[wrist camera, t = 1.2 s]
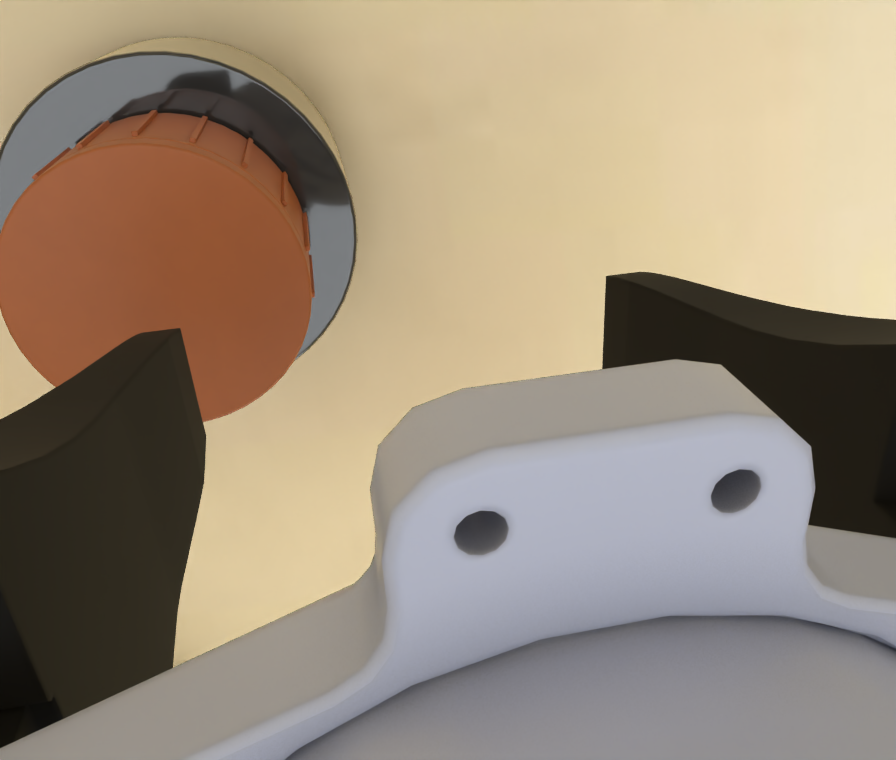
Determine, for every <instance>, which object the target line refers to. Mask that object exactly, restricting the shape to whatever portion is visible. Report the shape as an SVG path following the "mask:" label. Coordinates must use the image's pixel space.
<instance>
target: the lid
mask: <svg viewBox="0 0 896 760" xmlns="http://www.w3.org/2000/svg"><path fill="white" fill-rule="evenodd" d="M32 179H34V180H35V181H34V182H32V183H31V184H30V185H29V186H28V187H27V188H26V189H25V191H24V192H23V193H22V194H21V196H20V197H19V198H18V200H17V201H16V202H15V203H14V205H13V207H12V209H11V210H10V212H9V214H8V216H7V218H6V220H5V222H4V224H3V227H2V230H1V233H0V309H1V313H2V316H3V318H4V320H5V323H6V325H7V327H8V330H9V332H10V334H11V336H12V337H13V339H14V341H15V342H16V344H17V346H18V347H19V349H20V350H21V352H22V353H23V354H24V356H25V357H26V358H27V359H28V361H29V362H30V363H31V364H32V366H33V367H34V368H35V369H36V370H37V371H38V372H39V373H40V374H41V375H42V376H43V377H44V378H45V379H46V380H47V381H49V382H50V383H51V384H53V385H54V386H55V387H57V386H59V385H61V384H62V383H64V382H65V381H67V380H69V379H70V378H72V377H73V376H75V375H76V374H78V373H79V372H81V371H82V370H84V369H85V368H86V367H88V366H89V365H91V364H92V363H94V362H95V361H97V360H98V359H99V358H101V357H102V356H104V355H105V354H107V353H108V352H109V351H111V350H112V349H114V348H115V347H117V346H118V345H120V344H121V343H123V342H124V341H126V340H128V339H129V338H131V337H133V336H135V335H137V334H139V333H143V332H151V331H159V330H167V329H175V328H180V329H181V333H182V337H183V341H184V346H185V350H186V354H187V358H188V362H189V366H190V371H191V375H192V379H193V383H194V387H195V392H196V396H197V400H198V404H199V408H200V413H201V417H202V421H203V422H205V421H210V420H213V419H216V418H219V417H222V416H225V415H228V414H230V413H232V412H235V411H237V410H239V409H241V408H243V407H245V406H247V405H248V404H250V403H251V402H253V401H255V400H256V399H258V398H259V397H261V396H262V395H263V394H264V393H266V392H267V391H268V390H269V389H271V388H272V387H273V386H274V385H275V384H276V383H277V382H278V381H279V380H280V378H281V377H282V376H283V375H284V374H285V373H286V371H287V370H288V369H289V367H290V366H291V364H292V363H293V362H294V360H295V358H296V356H297V354H298V352H299V350H300V348H301V347H302V344H303V341H304V338H305V336H306V333H307V330H308V325H309V320H310V315H311V303H312V298H314V297H315V290H314V278H313V267H312V255H309V251H310V242H309V230H308V218H307V213H306V212H305V213H303V212H302V209H301V206H300V203H299V201H298V198H297V196H296V194H295V192H294V190H293V189H292V187H291V185H290V183H289V182H288V175H287V173H286V172H285V171H284V172H283V173H282V171H281V170H280V169H279V168H278V167H277V165H276V164H275V163H274V162H273V161H272V160H271V159H270V158H269V156H267V155H266V154H265V153H264V152H263V151H262V150H261V149H259V148H258V147H257V146H256V145H255V144H253V139H251V138H250V137H249V138H248V139H246V138H245V137H243V136H242V135H240V134H238V133H237V132H235V131H233V130H231V129H229V128H227V127H225V126H223V125H220V124H218V123H215V122H212V121H209V120H208V117H206V116H202V118H199V117H195V116H190V115H185V114H175V113H158V112H157V110H151V112H150V113H149V114H143V115H137V116H131V117H128V118H125V119H121V120H118V121H115V122H113V123H111V124H110V123H109V121H108V120H107V121H105V122H103V123H102V124H101V125H100V126H98V127H97V128H96V129H95V130H94V131H92V132H91V133H90V134H89V135H87V136H86V137H85V138H84V139H83V140H81V141H80V142H79V143H78V144H77V145H75V147H74V148H73V149H70V148H69V147H68V148H67V149H66V150H64V151H63V152H62V153H61V154H59V155H58V156H57V157H56V158H54V159H53V160H52V161H51V162H49V163H48V164H47V165H46V166H44V167H43V168H42V169H41V170H39V171H38V172H37V173H36V174H35V175H34V176H33V177H32Z"/></svg>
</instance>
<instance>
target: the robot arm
mask: <svg viewBox="0 0 896 760" xmlns="http://www.w3.org/2000/svg"><path fill="white" fill-rule="evenodd" d="M205 451H206V434H205V429H204V425H203V421H202V417H201V413H200V408H199V404H198V400H197V396H196V392H195V387H194V383H193V379H192V375H191V371H190V366H189V362H188V358H187V354H186V350H185V346H184V341H183V337H182V333H181V329H180V328H175V329H167V330H159V331H151V332H143V333H139V334H137V335H135V336H133V337H131V338H129V339H128V340H126V341H124V342H123V343H121V344H120V345H118V346H117V347H115V348H114V349H112V350H111V351H109V352H108V353H107V354H105V355H104V356H102V357H101V358H99V359H98V360H97V361H95V362H94V363H92V364H91V365H89V366H88V367H86V368H85V369H84V370H82V371H81V372H79V373H78V374H76V375H75V376H73V377H72V378H70V379H69V380H67V381H65V382H64V383H62V384H61V385H59V386H57V387H56V388H54V389H53V390H51V391H49V392H48V393H46V394H45V395H43V396H42V397H40V398H38V399H37V400H35V401H34V402H32V403H30V404H28V405H27V406H25V407H23V408H21V409H19V410H18V411H16V412H14V413H12V414H10V415H8V416H6V417H4V418H2V419H0V760H896V320H890V319H876V318H865V317H855V316H846V315H839V314H833V313H826V312H819V311H812V310H806V309H800V308H795V307H790V306H785V305H781V304H776V303H772V302H767V301H763V300H758V299H754V298H750V297H746V296H742V295H738V294H734V293H731V292H727V291H723V290H720V289H716V288H712V287H709V286H705V285H701V284H698V283H694V282H690V281H686V280H683V279H679V278H675V277H671V276H666V275H662V274H656V273H649V272H635V273H627V274H619V275H611V276H606V293H605V317H604V342H603V367H602V369H601V370H594V371H587V372H579V373H572V374H565V375H558V376H550V377H543V378H536V379H529V380H521V381H514V382H507V383H500V384H493V385H485V386H478V387H471V388H464V389H460V390H457V391H455V392H452V393H450V394H447V395H444V396H442V397H439V398H437V399H434V400H431V401H429V402H426V403H424V404H421V405H418V406H416V407H413V408H412V409H411V410H410V411H409V412H408V413H407V414H406V415H405V416H404V417H403V419H402V420H401V421H400V422H399V423H398V424H397V425H396V426H395V427H394V428H393V430H392V431H391V432H390V433H389V434H388V435H387V436H386V437H385V438H384V439H383V441H382V442H381V443H380V444H379V445H378V449H377V455H376V460H375V465H374V470H373V476H372V481H371V486H370V493H371V501H372V509H373V516H374V524H375V532H376V537H375V554H374V557H373V560H372V563H371V565H370V567H369V569H368V570H367V571H366V572H365V573H364V574H363V575H362V577H361V578H360V579H359V580H358V581H357V582H355V583H354V584H352V585H350V586H348V587H345V588H343V589H341V590H339V591H337V592H335V593H332V594H330V595H328V596H326V597H324V598H322V599H320V600H317V601H315V602H313V603H311V604H309V605H307V606H305V607H302V608H300V609H298V610H296V611H294V612H292V613H290V614H287V615H285V616H283V617H281V618H279V619H277V620H275V621H272V622H270V623H268V624H266V625H264V626H262V627H260V628H257V629H255V630H253V631H251V632H249V633H247V634H244V635H242V636H240V637H238V638H236V639H234V640H232V641H229V642H227V643H225V644H223V645H221V646H219V647H217V648H214V649H212V650H210V651H208V652H206V653H204V654H202V655H199V656H197V657H195V658H193V659H191V660H189V661H187V662H184V663H182V664H180V665H178V666H176V667H174V668H173V657H174V645H175V634H176V622H177V611H178V605H179V599H180V592H181V586H182V582H183V577H184V573H185V568H186V564H187V559H188V555H189V550H190V545H191V541H192V536H193V532H194V527H195V523H196V518H197V513H198V509H199V504H200V499H201V494H202V489H203V484H204V471H205Z"/></svg>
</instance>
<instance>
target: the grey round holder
mask: <svg viewBox="0 0 896 760" xmlns="http://www.w3.org/2000/svg"><path fill="white" fill-rule="evenodd" d="M151 110H157V112H158V113H175V114H185V115H190V116H195V117H199V118H202V116H206V117H208V120H209V121H212V122H215V123H218V124H220V125H223V126H225V127H227V128H229V129H231V130H233V131H235V132H237V133H238V134H240V135H242V136H243V137H245V138H246V139H248V138H249V137H250V138H251V139H253V144H255V145H256V146H257V147H258V148H259V149H261V150H262V151H263V152H264V153H265V154H266V155H267V156H269V158H270V159H271V160H272V161H273V162H274V163H275V164H276V165H277V167H278V168H279V169H280V170H281V171H282V173H283V172H284V171H285V172H286V173H287V175H288V182H289V183H290V185H291V187H292V189H293V190H294V192H295V194H296V196H297V198H298V201H299V203H300V206H301V209H302V212H303V213H305V212H306V213H307V218H308V230H309V242H310V251H309V255H312V267H313V278H314V290H315V297H314V298H312V303H311V315H310V320H309V325H308V330H307V333H306V336H305V338H304V341H303V344H302V347H301V348H300V350H299V352H298V354H297V356H296V358H295V360H296V359H297V358H299V357H300V356H301V355H302V354H303V353H305V352H306V351H307V350H308V349H310V348H311V346H312V345H313V344H314V343H315V342H316V341H317V340H318V339H319V338H320V337H321V336H322V335H323V334H324V332H325V331H326V330H327V328H328V327H329V325H330V324H331V323H332V321H333V320H334V318H335V317H336V315H337V313H338V311H339V309H340V307H341V306H342V304H343V302H344V300H345V297H346V294H347V292H348V289H349V286H350V283H351V280H352V276H353V271H354V267H355V262H356V251H357V225H356V215H355V210H354V205H353V200H352V195H351V192H350V188H349V185H348V181H347V178H346V174H345V171H344V167H343V164H342V161H341V158H340V155H339V152H338V149H337V146H336V143H335V141H334V139H333V137H332V135H331V132H330V130H329V128H328V126H327V124H326V123H325V121H324V120H323V118H322V117H321V115H320V114H319V112H318V110H317V109H316V108H315V106H314V105H313V104H312V103H311V101H310V100H309V99H308V98H307V97H306V95H305V94H304V93H303V92H302V91H301V90H300V89H299V88H298V87H297V86H296V85H295V84H294V83H292V82H291V81H290V80H289V79H288V78H287V77H286V76H284V75H283V74H282V73H280V72H279V71H278V70H276V69H275V68H274V67H272V66H271V65H269V64H268V63H266V62H264V61H262V60H260V59H259V58H257V57H255V56H253V55H251V54H250V53H247V52H245V51H242V50H240V49H237V48H235V47H232V46H230V45H226V44H222V43H218V42H214V41H210V40H205V39H197V38H188V37H164V38H158V39H151V40H145V41H141V42H137V43H134V44H131V45H128V46H124V47H121V48H119V49H117V50H115V51H113V52H111V53H108V54H106V55H104V56H102V57H100V58H98V59H95V60H93V61H91V62H89V63H87V64H85V65H83V66H80V67H78V68H76V69H74V70H72V71H70V72H68V73H66V74H64V75H63V76H61V77H60V78H58V79H57V80H56V81H54V82H53V83H51V84H50V85H48V86H47V87H45V88H44V89H43V90H42V91H41V92H40V93H39V94H38V95H37V96H36V97H35V98H34V99H33V100H31V101H30V102H29V103H28V104H27V105H26V107H25V108H24V109H23V111H22V112H21V113H20V115H19V116H18V117H17V119H16V120H15V121H14V123H13V124H12V126H11V128H10V130H9V131H8V133H7V135H6V137H5V139H4V141H3V143H2V145H1V147H0V233H1V230H2V227H3V224H4V222H5V220H6V218H7V216H8V214H9V212H10V210H11V209H12V207H13V205H14V203H15V202H16V201H17V200H18V198H19V197H20V196H21V194H22V193H23V192H24V191H25V189H26V188H27V187H28V186H29V185H30V184H31V183H32V182H34V181H35V180H34V179H32V177H33V176H34V175H35V174H36V173H37V172H38V171H39V170H41V169H42V168H43V167H44V166H46V165H47V164H48V163H49V162H51V161H52V160H53V159H54V158H56V157H57V156H58V155H59V154H61V153H62V152H63V151H64V150H66V149H67V148H68V147H69V148H70V149H73V148H74V147H75V145H77V144H78V143H79V142H80V141H81V140H83V139H84V138H85V137H86V136H87V135H89V134H90V133H91V132H92V131H94V130H95V129H96V128H97V127H98V126H100V125H101V124H102V123H103V122H105V121H107V120H108V121H109V123H110V124H111V123H113V122H115V121H118V120H121V119H125V118H128V117H131V116H137V115H143V114H149V113H150V112H151ZM295 360H294V361H295Z"/></svg>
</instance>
